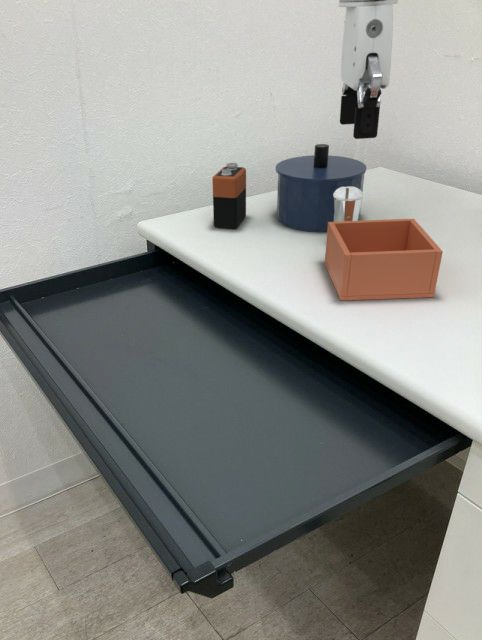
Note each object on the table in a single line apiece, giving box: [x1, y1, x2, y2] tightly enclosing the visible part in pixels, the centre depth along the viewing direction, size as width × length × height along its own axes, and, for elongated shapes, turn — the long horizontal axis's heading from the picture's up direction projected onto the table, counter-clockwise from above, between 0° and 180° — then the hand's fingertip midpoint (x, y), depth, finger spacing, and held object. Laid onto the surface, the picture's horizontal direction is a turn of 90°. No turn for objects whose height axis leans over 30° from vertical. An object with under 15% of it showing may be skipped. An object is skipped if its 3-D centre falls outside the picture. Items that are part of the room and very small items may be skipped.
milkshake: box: [333, 186, 364, 222], centre depth 94 cm, size 5×5×10 cm
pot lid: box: [275, 143, 367, 182], centre depth 103 cm, size 16×16×5 cm
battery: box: [212, 162, 247, 230], centre depth 105 cm, size 4×7×10 cm, turn 161°
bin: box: [324, 218, 444, 301], centre depth 84 cm, size 13×13×7 cm
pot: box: [276, 172, 366, 233], centre depth 106 cm, size 15×15×8 cm
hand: (357, 130), depth 87 cm, fingers open, 9 cm apart
